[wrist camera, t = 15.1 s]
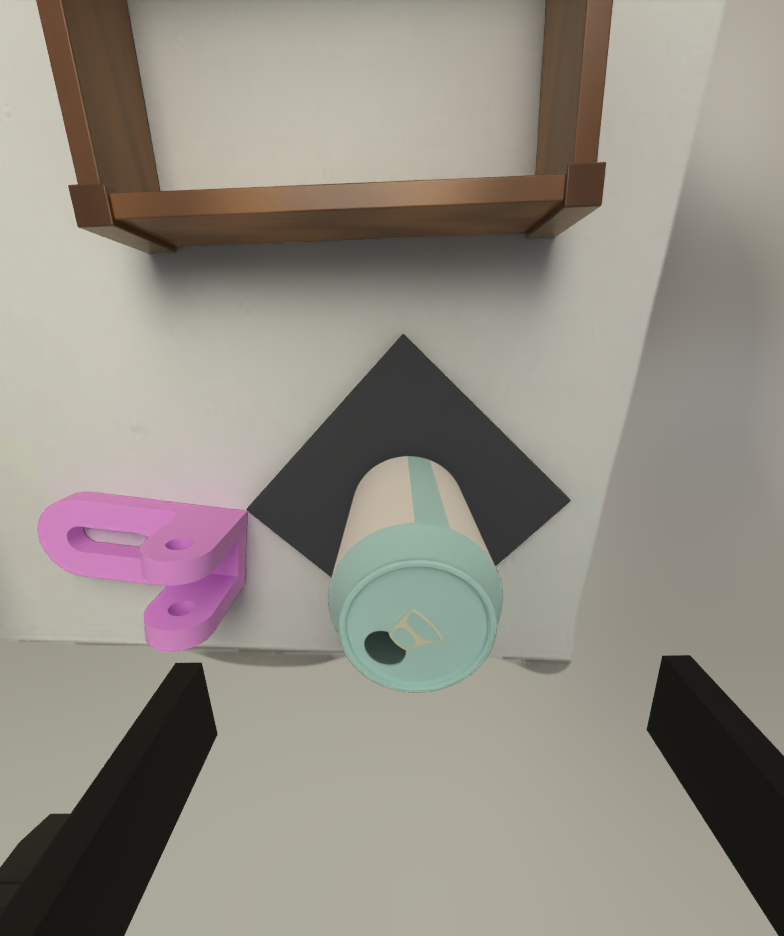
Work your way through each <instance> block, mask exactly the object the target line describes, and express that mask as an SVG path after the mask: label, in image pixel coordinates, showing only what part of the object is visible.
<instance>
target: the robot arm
mask: <svg viewBox="0 0 784 936" xmlns="http://www.w3.org/2000/svg"><path fill="white" fill-rule="evenodd" d="M647 731H648V732H649V734H650V735H651V737H652V739H653V740H654V742H655V744H656V745H657V747H658V748H659V750H660V751H661V752H662V754H663V756H664V758H665V759H666V761H667V762H668V764H669V765H670V767H671V769H672V770H673V772H674V773H675V774H676V776H677V778H678V779H679V781H680V783H681V784H682V786H683V787H684V789H685V790H686V792H687V793H688V795H689V797H690V798H691V800H692V801H693V803H694V804H695V806H696V808H697V809H698V811H699V812H700V814H701V815H702V817H703V819H704V820H705V822H706V823H707V825H708V826H709V828H710V829H711V831H712V832H713V834H714V836H715V837H716V839H717V840H718V842H719V843H720V845H721V847H722V848H723V850H724V851H725V853H726V854H727V856H728V857H729V859H730V861H731V862H732V864H733V865H734V867H735V869H736V870H737V872H738V873H739V875H740V876H741V878H742V879H743V881H744V883H745V884H746V886H747V887H748V889H749V890H750V892H751V894H752V895H753V897H754V898H755V900H756V901H757V903H758V904H759V906H760V908H761V909H762V910H763V912H764V914H765V915H766V917H767V918H768V920H769V922H770V923H771V925H772V926H773V928H774V929H775V931H776V932H777V934H778V936H784V756H783V755H782V754H781V753H780V752H779V750H778V749H777V748H776V747H775V746H774V745H773V744H772V743H771V742H770V741H769V740H768V739H767V738H766V737H765V736H764V734H763V733H762V732H761V731H760V730H759V729H758V728H757V727H756V726H755V725H754V724H753V722H752V721H751V720H750V719H749V718H748V717H747V716H746V715H745V714H744V713H743V712H742V711H741V710H740V709H739V708H738V706H737V705H736V704H735V703H734V702H733V701H732V700H731V699H730V698H729V697H728V696H727V695H726V694H725V692H724V691H723V690H722V689H721V688H720V687H719V686H718V685H717V684H716V683H715V682H714V681H713V680H712V678H711V677H710V676H709V675H708V674H707V673H706V672H705V671H704V670H703V669H702V668H701V667H700V666H699V665H698V663H697V662H696V661H695V660H694V659H693V658H692V657H691V656H689V655H684V656H683V655H682V656H662V660H661V665H660V669H659V674H658V679H657V684H656V688H655V693H654V698H653V702H652V707H651V712H650V717H649V721H648V726H647ZM216 736H217V730H216V725H215V721H214V717H213V712H212V707H211V703H210V698H209V693H208V689H207V684H206V680H205V675H204V671H203V666H202V663H175V665H174V666H173V668H172V669H171V670H170V672H169V673H168V675H167V676H166V678H165V679H164V680H163V682H162V683H161V685H160V686H159V688H158V689H157V691H156V692H155V693H154V695H153V696H152V698H151V699H150V701H149V702H148V704H147V705H146V706H145V708H144V709H143V711H142V712H141V714H140V715H139V717H138V718H137V719H136V721H135V722H134V724H133V725H132V727H131V728H130V729H129V731H128V732H127V734H126V735H125V737H124V738H123V740H122V741H121V742H120V744H119V745H118V747H117V748H116V749H115V751H114V752H113V754H112V755H111V757H110V758H109V759H108V761H107V762H106V764H105V765H104V767H103V768H102V770H101V771H100V773H99V774H98V775H97V777H96V778H95V780H94V781H93V783H92V784H91V785H90V787H89V788H88V790H87V791H86V793H85V794H84V795H83V797H82V798H81V800H80V801H79V803H78V804H77V805H76V807H75V808H74V810H73V811H72V813H71V814H50V815H49V816H48V817H46V819H44V820H43V821H42V822H41V823H40V824H39V825H38V826H37V827H36V828H34V829H33V830H32V831H31V832H30V833H29V834H28V835H27V836H26V837H25V838H24V839H23V840H21V842H19V844H18V845H17V846H16V847H15V849H14V850H13V851H12V853H11V854H10V855H9V857H8V858H7V859H6V861H5V862H4V863H3V865H2V866H1V867H0V936H124V935H125V933H126V931H127V928H128V926H129V924H130V922H131V920H132V918H133V915H134V913H135V911H136V909H137V907H138V904H139V902H140V900H141V898H142V896H143V894H144V892H145V890H146V887H147V885H148V883H149V881H150V879H151V877H152V875H153V872H154V870H155V868H156V866H157V864H158V862H159V859H160V857H161V855H162V853H163V851H164V849H165V846H166V844H167V842H168V840H169V838H170V836H171V833H172V831H173V829H174V827H175V825H176V823H177V820H178V818H179V816H180V814H181V812H182V810H183V807H184V805H185V803H186V801H187V799H188V797H189V795H190V792H191V790H192V788H193V786H194V784H195V782H196V779H197V777H198V775H199V773H200V771H201V769H202V767H203V764H204V762H205V760H206V758H207V756H208V754H209V751H210V749H211V747H212V745H213V742H214V741H215V738H216Z"/></svg>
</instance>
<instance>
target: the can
mask: <svg viewBox="0 0 784 936" xmlns="http://www.w3.org/2000/svg"><path fill="white" fill-rule="evenodd" d="M328 604H329V611H330V615H331V619H332V622H333V625H334V627H335V629H336V631H337V633H338V635H339V638H340V642H341V645H342V648H343V650H344V652H345V654H346V656H347V658H348V659H349V661H350V662H351V663H352V665H353V666H354V667H355V668H356V669H357V670H358V671H359V672H361V674H363V675H364V676H365V677H367V678H368V679H370V680H371V681H373V682H375V683H377V684H379V685H381V686H384V687H387V688H390V689H393V690H398V691H403V692H414V693H420V692H431V691H436V690H440V689H443V688H447V687H449V686H452V685H454V684H456V683H458V682H460V681H462V680H464V679H465V678H467V677H468V676H470V675H471V674H472V673H473V672H475V671H476V670H477V669H478V668H479V667H480V666H481V664H482V663H483V662H484V661H485V659H486V658H487V656H488V655H489V653H490V651H491V649H492V646H493V644H494V641H495V637H496V629H497V624H498V621H499V618H500V614H501V609H502V586H501V581H500V577H499V575H498V572H497V570H496V567H495V565H494V563H493V561H492V558H491V556H490V554H489V552H488V550H487V547H486V545H485V543H484V541H483V539H482V536H481V534H480V532H479V530H478V528H477V525H476V523H475V521H474V519H473V517H472V514H471V512H470V510H469V508H468V506H467V503H466V501H465V499H464V497H463V495H462V492H461V490H460V488H459V486H458V484H457V482H456V481H455V479H454V478H453V477H452V475H451V474H450V473H449V472H448V471H447V470H446V469H444V468H443V467H442V466H440V465H439V464H437V463H435V462H433V461H431V460H428V459H425V458H421V457H414V456H403V457H396V458H392V459H389V460H386V461H384V462H382V463H380V464H378V465H377V466H375V467H374V468H372V469H371V470H370V471H369V472H368V473H367V474H366V475H365V476H364V477H363V479H362V480H361V481H360V483H359V485H358V487H357V489H356V491H355V494H354V498H353V501H352V505H351V509H350V512H349V516H348V519H347V523H346V527H345V530H344V534H343V538H342V541H341V545H340V549H339V552H338V556H337V560H336V563H335V567H334V571H333V574H332V578H331V582H330V586H329V594H328Z"/></svg>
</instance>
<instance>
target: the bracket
mask: <svg viewBox="0 0 784 936" xmlns="http://www.w3.org/2000/svg"><path fill="white" fill-rule="evenodd" d="M83 527H88V528H97V529H105V530H113V531H121V532H130V533H138V534H142V535H144V536H146V537H147V539H146V540H145V541H144V542H143V543H142V544H141V546H140V547H135V546H127V545H118V544H110V543H102V542H95V541H93V540H91V539H89V538H88V537H87V536H86V535H85V533H84V531H83ZM246 534H247V511H242V510H234V509H226V508H218V507H210V506H201V505H193V504H185V503H177V502H169V501H161V500H153V499H145V498H137V497H128V496H120V495H112V494H104V493H96V492H80V493H76V494H73V495H71V496H69V497H66V498H64V499H62V500H60V501H58V502H56V503H54V504H52V505H50V506H49V507H47V508H46V509H45V510H44V512H43V513H42V515H41V516H40V519H39V522H38V537H39V541H40V544H41V546H42V548H43V550H44V551H45V553H46V554H47V555H48V557H49V558H50V559H51V560H52V561H53V562H54V563H56V564H57V565H58V566H60V567H61V568H63V569H64V570H66V571H68V572H71V573H73V574H76V575H80V576H85V577H94V578H103V579H111V580H120V581H128V582H137V583H145V584H154V585H163V586H167V587H166V588H165V589H164V590H163V591H162V592H161V593H160V594H159V595H158V596H157V597H156V598H155V599H154V600H153V601H152V602H151V603H150V604H149V605H148V607H147V608H146V610H145V612H144V624H145V639H146V642H147V643H148V644H149V645H150V646H151V647H152V648H154V649H157V650H161V651H168V652H173V651H181V650H186V649H189V648H192V647H195V646H197V645H199V644H201V643H202V642H204V641H205V640H207V639H208V638H209V637H210V636H211V635H212V634H213V632H214V631H215V629H216V628H217V626H218V625H219V623H220V622H221V620H222V618H223V617H224V615H225V614H226V612H227V611H228V609H229V607H230V606H231V604H232V603H233V601H234V600H235V598H236V596H237V595H238V593H239V592H240V590H241V589H242V587H243V585H244V584H245V573H246Z"/></svg>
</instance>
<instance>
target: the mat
mask: <svg viewBox="0 0 784 936" xmlns="http://www.w3.org/2000/svg"><path fill="white" fill-rule="evenodd" d="M403 456H414V457H421V458H425V459H428V460H431V461H433V462H435V463H437V464H439V465H440V466H442V467H443V468H444V469H446V470H447V471H448V472H449V473H450V474H451V475H452V477H453V478H454V479H455V481H456V482H457V484H458V486H459V488H460V490H461V492H462V495H463V497H464V499H465V501H466V503H467V506H468V508H469V510H470V512H471V514H472V517H473V519H474V521H475V523H476V525H477V528H478V530H479V532H480V534H481V536H482V539H483V541H484V543H485V545H486V547H487V550H488V552H489V554H490V556H491V558H492V561H493V563H494V565H495V566H496V565H497V564H498V563H500V562H501V561H502V560H503V559H504V558H505V557H507V556H508V555H509V554H510V553H511V552H512V551H513V550H515V549H516V548H517V547H518V546H519V545H520V544H522V543H523V542H524V541H525V540H526V539H527V538H528V537H530V536H531V535H532V534H533V533H534V532H535V531H536V530H538V529H539V528H540V527H541V526H542V525H543V524H545V523H546V522H547V521H548V520H549V519H550V518H551V517H553V516H554V515H555V514H556V513H557V512H558V511H560V510H561V509H562V508H563V507H564V506H565V505H566V504H568V503H569V502H570V501H571V500H570V499H569V498H568V497H567V496H566V495H565V494H564V493H563V492H562V491H561V490H560V489H559V488H558V487H557V486H556V485H555V484H554V483H553V482H552V481H551V480H550V479H549V478H548V477H547V476H546V475H545V474H544V473H543V472H542V471H541V470H540V469H539V468H538V467H537V466H536V465H535V464H534V463H533V462H532V461H531V460H530V459H529V458H528V457H527V456H526V455H525V454H524V453H523V452H522V451H521V450H520V449H519V448H518V447H517V446H516V445H515V444H514V443H513V442H512V441H511V440H510V439H509V438H508V437H507V436H506V435H505V434H504V433H503V432H502V431H501V430H500V429H499V428H498V427H497V426H496V425H495V424H494V423H493V422H492V421H491V420H490V419H489V418H488V417H487V416H486V415H485V414H484V413H483V412H482V411H481V410H480V409H479V408H478V407H477V406H476V405H475V404H474V403H473V402H472V401H471V400H470V399H469V398H468V397H466V396H465V395H464V394H463V393H462V392H461V391H460V390H459V389H458V388H457V387H456V386H455V385H454V384H453V383H452V382H451V381H450V380H449V379H448V378H447V377H446V376H445V375H444V374H443V373H442V372H441V371H440V370H439V369H438V368H437V367H436V366H435V365H434V364H433V363H432V362H431V361H430V360H429V359H428V358H427V357H426V356H425V355H424V354H423V353H422V352H421V351H420V350H419V349H418V348H417V347H416V346H415V345H414V344H413V343H412V342H411V341H410V340H409V339H408V338H407V337H406V336H405V335H404V334H403V335H402V336H401V337H400V338H399V339H398V340H397V341H396V342H395V344H394V345H393V346H392V347H391V348H390V349H389V350H388V351H387V352H386V354H385V355H384V356H383V357H382V358H381V359H380V360H379V361H378V363H377V364H376V365H375V366H374V367H373V368H372V369H371V370H370V372H369V373H368V374H367V375H366V376H365V377H364V378H363V379H362V380H361V382H360V383H359V384H358V385H357V386H356V387H355V388H354V389H353V391H352V392H351V393H350V394H349V395H348V396H347V397H346V398H345V399H344V401H343V402H342V403H341V404H340V405H339V406H338V407H337V408H336V410H335V411H334V412H333V413H332V414H331V415H330V416H329V417H328V419H327V420H326V421H325V422H324V423H323V424H322V425H321V426H320V427H319V429H318V430H317V431H316V432H315V433H314V434H313V435H312V436H311V438H310V439H309V440H308V441H307V442H306V443H305V444H304V445H303V446H302V448H301V449H300V450H299V451H298V452H297V453H296V454H295V455H294V457H293V458H292V459H291V460H290V461H289V462H288V463H287V464H286V465H285V467H284V468H283V469H282V470H281V471H280V472H279V473H278V474H277V476H276V477H275V478H274V479H273V480H272V481H271V482H270V483H269V485H268V486H267V487H266V488H265V489H264V490H263V491H262V492H261V493H260V495H259V496H258V497H257V498H256V499H255V500H254V501H253V502H252V504H251V505H250V506H249V507H248V508H247V511H249V512H250V513H251V514H252V515H254V516H255V517H256V518H257V519H259V520H260V521H261V522H262V523H264V524H265V525H266V526H267V527H269V528H270V529H271V530H273V531H274V532H275V533H276V534H278V535H279V536H280V537H281V538H283V539H284V540H285V541H286V542H288V543H289V544H290V545H291V546H293V547H294V548H295V549H297V550H298V551H299V552H300V553H302V554H303V555H304V556H305V557H307V558H308V559H309V560H310V561H312V562H313V563H314V564H316V565H317V566H318V567H319V568H321V569H322V570H323V571H324V572H326V573H327V574H328V575H329V576H331V577H332V574H333V571H334V567H335V563H336V560H337V556H338V552H339V549H340V545H341V541H342V538H343V534H344V530H345V527H346V523H347V519H348V516H349V512H350V509H351V505H352V501H353V498H354V494H355V491H356V489H357V487H358V485H359V483H360V481H361V480H362V479H363V477H364V476H365V475H366V474H367V473H368V472H369V471H370V470H371V469H372V468H374V467H375V466H377V465H378V464H380V463H382V462H384V461H386V460H389V459H392V458H396V457H403Z"/></svg>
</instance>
